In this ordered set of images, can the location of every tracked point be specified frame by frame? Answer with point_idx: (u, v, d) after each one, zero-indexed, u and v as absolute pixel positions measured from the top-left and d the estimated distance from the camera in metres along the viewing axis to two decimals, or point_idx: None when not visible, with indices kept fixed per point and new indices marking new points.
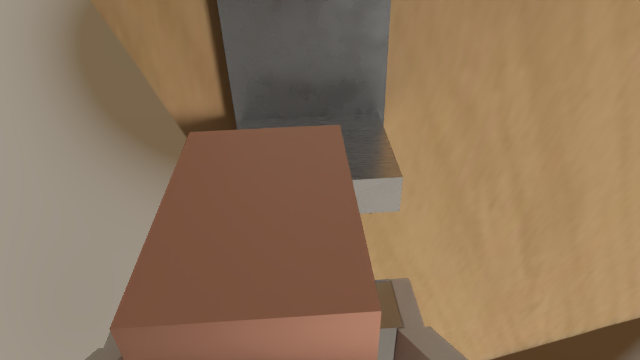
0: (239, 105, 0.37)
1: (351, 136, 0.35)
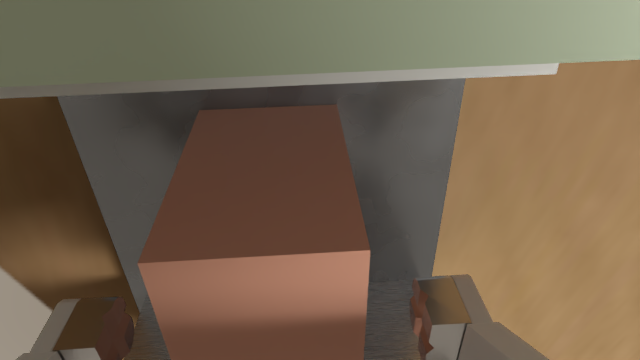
0: (137, 272, 0.18)
1: None
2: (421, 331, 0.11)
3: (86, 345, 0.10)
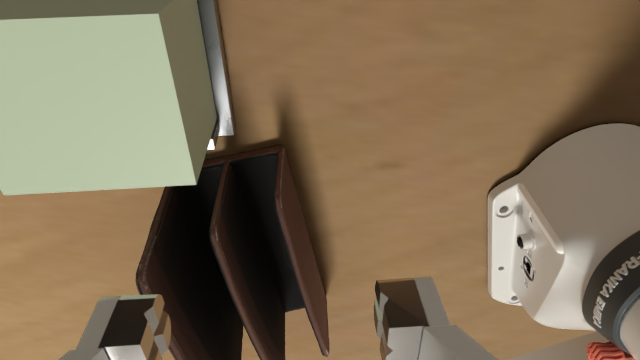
0: None
1: None
2: (382, 334, 0.11)
3: (131, 342, 0.10)
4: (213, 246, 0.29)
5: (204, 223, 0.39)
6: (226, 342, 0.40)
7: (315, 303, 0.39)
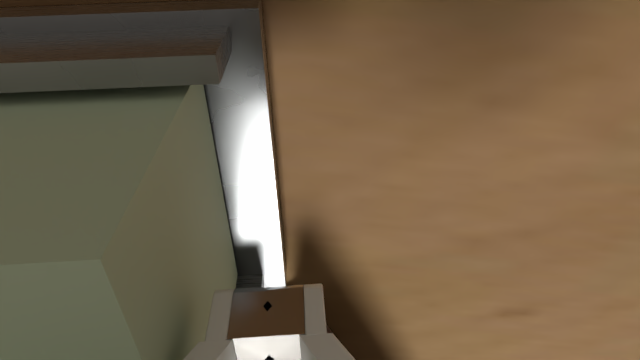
0: None
1: None
2: None
3: (258, 333, 0.10)
4: None
5: None
6: None
7: None
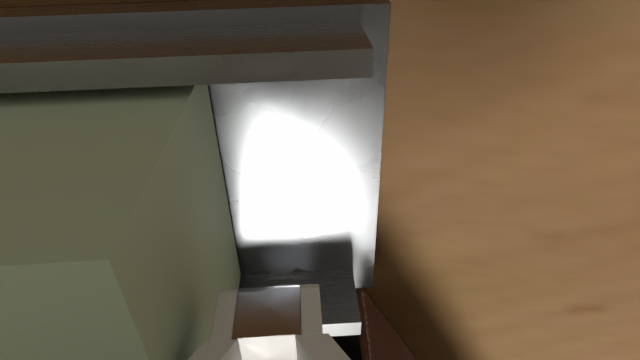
0: None
1: None
2: None
3: (263, 333, 0.10)
4: None
5: None
6: None
7: None
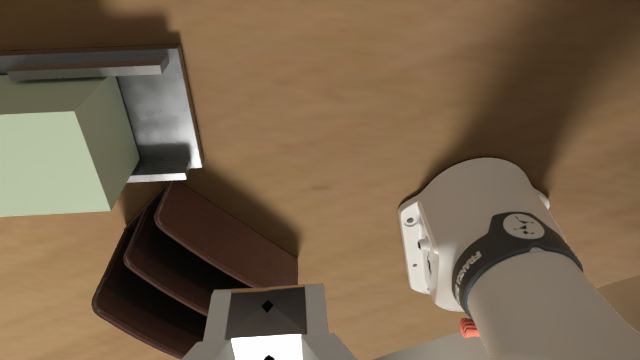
0: None
1: None
2: None
3: (256, 334, 0.10)
4: (130, 269, 0.43)
5: None
6: None
7: (255, 270, 0.50)
